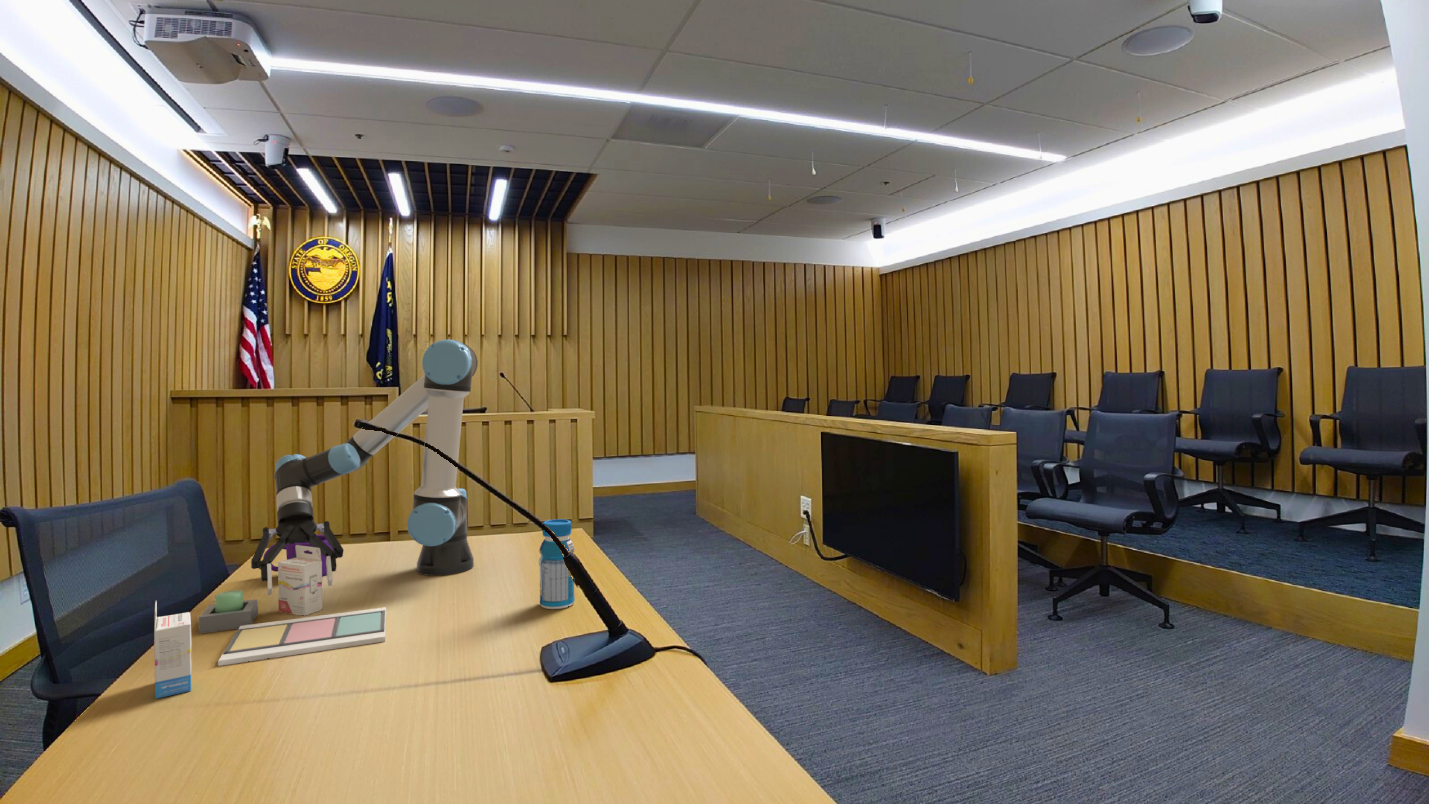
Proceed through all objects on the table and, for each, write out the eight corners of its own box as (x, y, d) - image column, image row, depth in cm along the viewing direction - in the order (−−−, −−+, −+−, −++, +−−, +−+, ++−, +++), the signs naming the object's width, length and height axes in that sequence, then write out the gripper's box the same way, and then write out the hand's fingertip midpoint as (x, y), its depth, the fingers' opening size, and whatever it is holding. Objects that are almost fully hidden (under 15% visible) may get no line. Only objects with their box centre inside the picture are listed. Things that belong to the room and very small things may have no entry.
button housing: (257, 614, 153) (257, 599, 153) (250, 627, 145) (250, 611, 145) (209, 620, 149) (209, 604, 149) (199, 633, 141) (198, 617, 141)
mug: (340, 568, 191) (339, 533, 191) (326, 579, 180) (326, 542, 180) (272, 571, 188) (272, 536, 187) (254, 583, 177) (253, 545, 176)
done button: (245, 610, 150) (245, 589, 150) (240, 617, 146) (240, 595, 145) (218, 613, 148) (218, 592, 148) (212, 620, 143) (212, 598, 143)
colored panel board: (386, 611, 155) (386, 605, 155) (385, 641, 137) (385, 635, 137) (240, 630, 143) (240, 624, 143) (218, 666, 125) (218, 659, 125)
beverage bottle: (549, 612, 154) (549, 526, 154) (532, 603, 160) (532, 521, 160) (581, 605, 160) (581, 522, 159) (564, 596, 166) (564, 516, 165)
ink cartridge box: (276, 612, 154) (275, 549, 154) (296, 605, 159) (295, 544, 158) (304, 616, 151) (303, 552, 151) (323, 609, 156) (322, 547, 156)
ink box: (192, 691, 114) (191, 606, 114) (154, 700, 111) (153, 612, 111) (191, 674, 121) (190, 594, 121) (155, 682, 118) (153, 599, 118)
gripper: (347, 513, 174) (357, 586, 162) (236, 524, 160) (238, 605, 148) (350, 495, 169) (360, 570, 157) (236, 505, 156) (237, 587, 144)
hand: (300, 587), depth 153 cm, fingers open, 11 cm apart
